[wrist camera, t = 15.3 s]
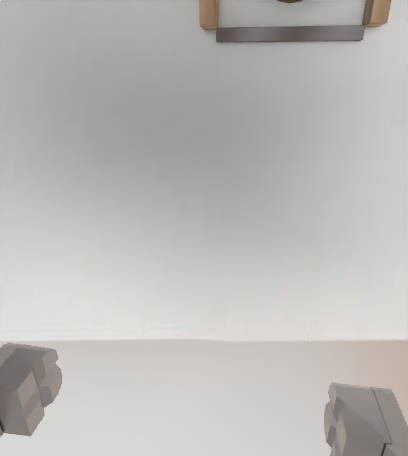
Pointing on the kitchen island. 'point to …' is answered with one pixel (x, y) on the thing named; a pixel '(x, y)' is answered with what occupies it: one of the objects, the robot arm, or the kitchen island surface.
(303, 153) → the kitchen island surface
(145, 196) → the kitchen island surface
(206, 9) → the bay
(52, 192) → the kitchen island surface
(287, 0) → the cork
